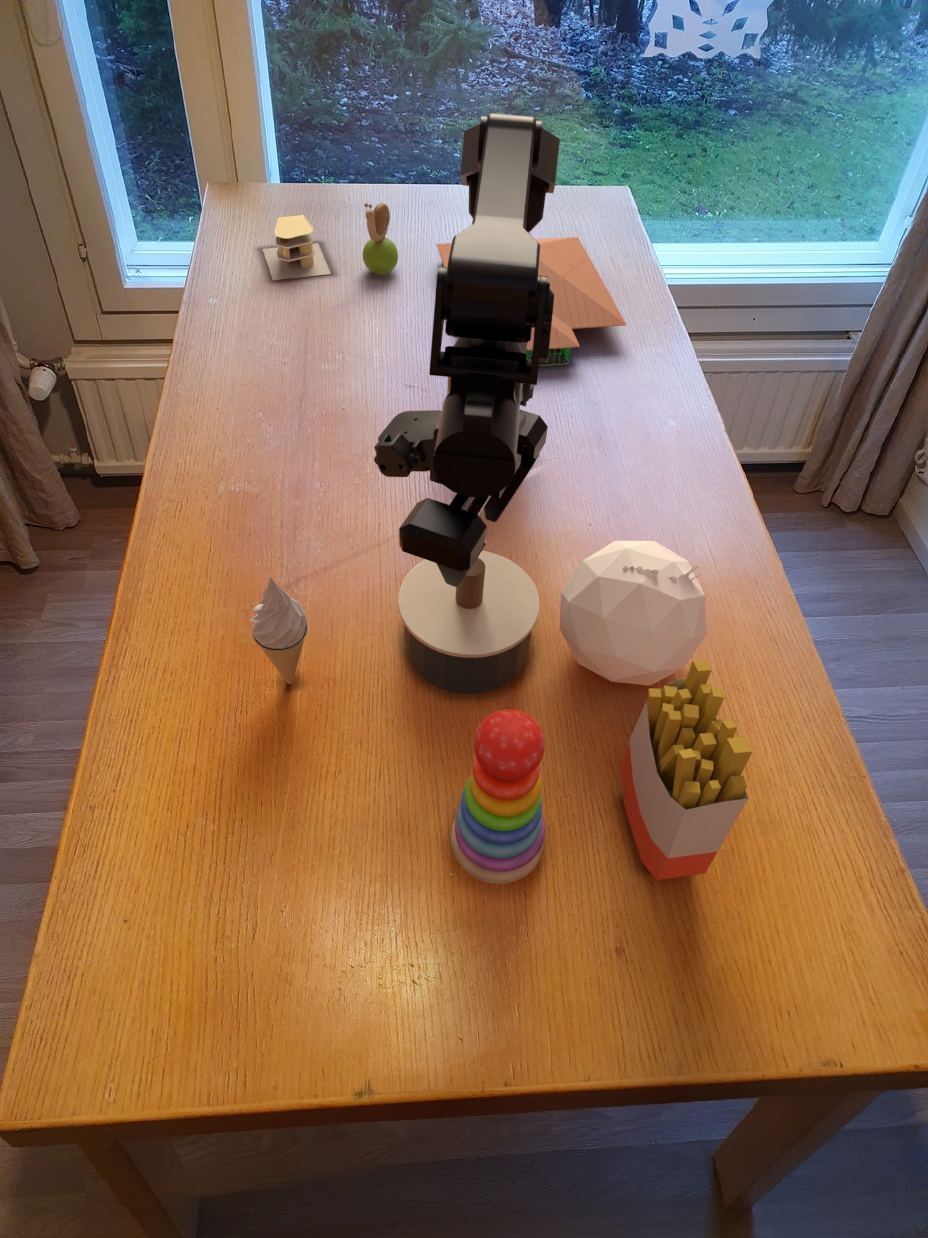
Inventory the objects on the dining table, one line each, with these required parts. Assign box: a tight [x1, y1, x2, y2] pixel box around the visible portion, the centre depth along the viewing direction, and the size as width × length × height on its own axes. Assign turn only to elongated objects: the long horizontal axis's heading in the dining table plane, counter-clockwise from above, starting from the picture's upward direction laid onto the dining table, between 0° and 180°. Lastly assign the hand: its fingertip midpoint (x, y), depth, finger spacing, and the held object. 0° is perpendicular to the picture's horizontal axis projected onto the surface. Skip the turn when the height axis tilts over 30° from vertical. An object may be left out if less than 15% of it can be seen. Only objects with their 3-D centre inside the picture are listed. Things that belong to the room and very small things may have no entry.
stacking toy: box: [449, 708, 546, 885], centre depth 69 cm, size 8×8×19 cm
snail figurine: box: [362, 202, 399, 276], centre depth 133 cm, size 5×6×12 cm
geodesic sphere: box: [559, 540, 707, 687], centre depth 85 cm, size 15×14×14 cm
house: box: [435, 231, 628, 367], centre depth 130 cm, size 23×33×8 cm
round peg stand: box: [397, 550, 541, 658], centre depth 84 cm, size 14×14×6 cm
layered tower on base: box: [262, 214, 332, 281], centre depth 137 cm, size 10×9×6 cm
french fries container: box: [620, 659, 753, 881], centre depth 71 cm, size 5×11×18 cm, turn 9°
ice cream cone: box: [249, 577, 309, 685], centre depth 80 cm, size 5×5×15 cm
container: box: [404, 625, 532, 695], centre depth 88 cm, size 12×12×6 cm
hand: (472, 551), depth 81 cm, fingers open, 9 cm apart
